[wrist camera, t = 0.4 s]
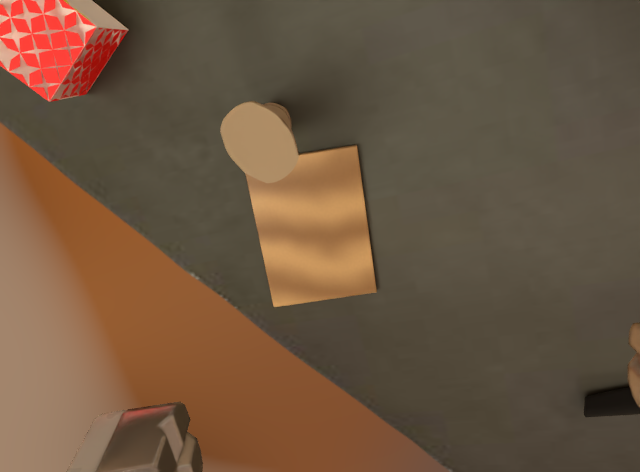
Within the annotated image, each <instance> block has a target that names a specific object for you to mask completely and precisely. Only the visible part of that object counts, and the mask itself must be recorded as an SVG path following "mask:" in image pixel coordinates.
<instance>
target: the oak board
mask: <svg viewBox="0 0 640 472" xmlns="http://www.w3.org/2000/svg"><path fill="white" fill-rule="evenodd" d="M245 174H246V173H245ZM246 178H247V183H248V188H249V192H250V197H251V202H252V207H253V211H254V216H255V221H256V225H257V230H258V235H259V240H260V244H261V249H262V254H263V259H264V263H265V268H266V273H267V277H268V282H269V287H270V292H271V296H272V301H273V306H274V307H279V306H286V305H293V304H299V303H306V302H313V301H320V300H326V299H333V298H340V297H347V296H354V295H360V294H367V293H374V292H377V289H376V282H375V275H374V267H373V260H372V253H371V245H370V238H369V231H368V223H367V216H366V209H365V201H364V194H363V187H362V179H361V172H360V165H359V157H358V150H357V145H351V146H345V147H338V148H332V149H326V150H320V151H313V152H307V153H301V154H299V158H298V161H297V164H296V166H295V167H294V169H293V170H292V171H291V172H290V173H289V174H288V175H287V176H286V177H284V178H283V179H281V180H279V181H277V182H273V183H265V182H263V181H260V180H258V179H256V178H254V177H252V176H250V175H248V174H246Z"/></svg>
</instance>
